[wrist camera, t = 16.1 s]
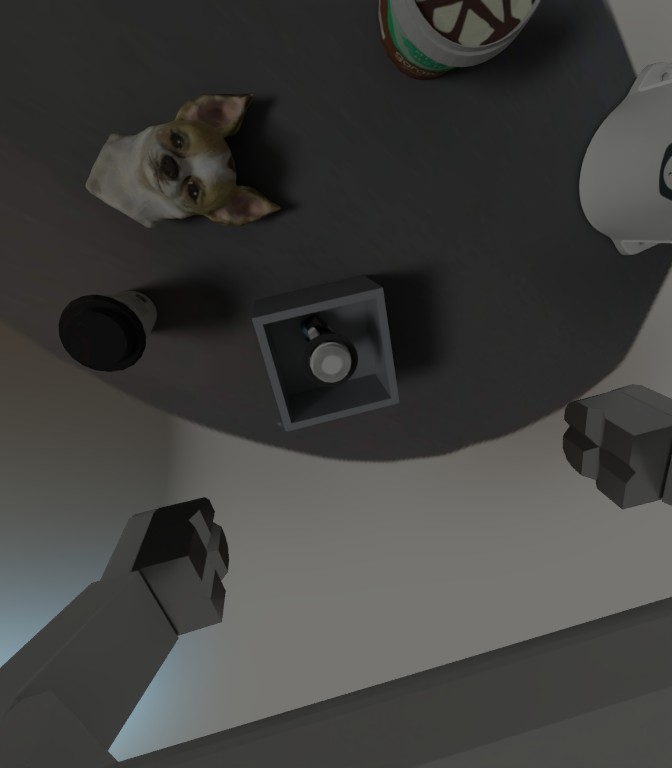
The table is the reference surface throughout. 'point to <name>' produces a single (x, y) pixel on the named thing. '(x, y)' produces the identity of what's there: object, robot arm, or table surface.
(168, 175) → the ceramic sculpture
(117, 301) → the coffee cup
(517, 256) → the table surface
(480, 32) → the food container
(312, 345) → the push button
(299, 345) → the bin
